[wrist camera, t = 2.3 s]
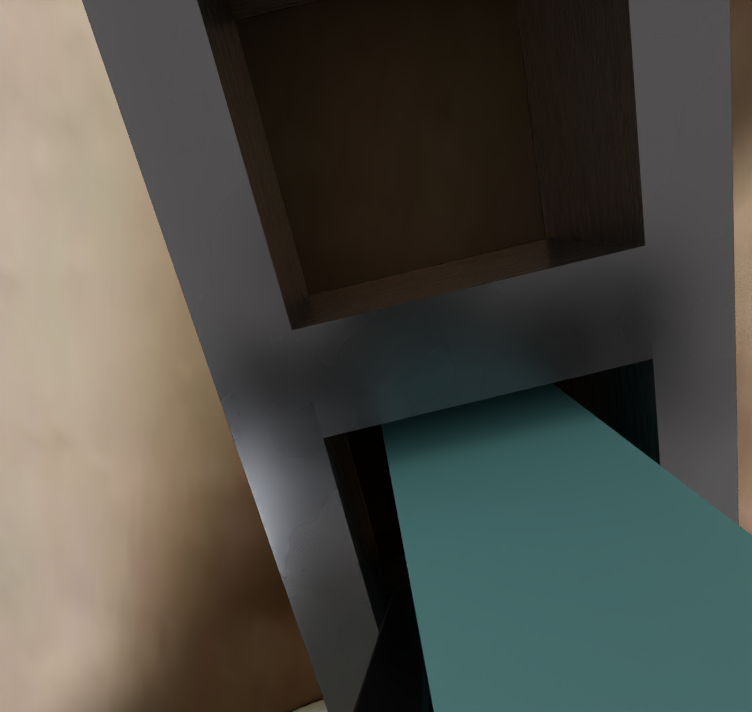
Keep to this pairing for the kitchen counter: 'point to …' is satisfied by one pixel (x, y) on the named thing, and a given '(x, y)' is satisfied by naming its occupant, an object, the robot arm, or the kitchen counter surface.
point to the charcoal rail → (449, 277)
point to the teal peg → (565, 565)
